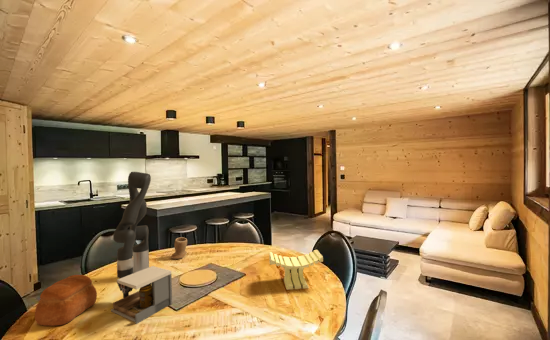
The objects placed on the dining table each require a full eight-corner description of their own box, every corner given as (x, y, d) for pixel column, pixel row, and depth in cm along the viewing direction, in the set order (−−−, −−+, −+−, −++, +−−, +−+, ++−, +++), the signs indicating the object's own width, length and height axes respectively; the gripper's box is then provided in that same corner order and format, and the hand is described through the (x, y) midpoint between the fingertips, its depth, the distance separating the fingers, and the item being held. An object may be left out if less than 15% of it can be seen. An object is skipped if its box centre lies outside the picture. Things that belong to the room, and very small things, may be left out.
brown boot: (185, 259, 200) (184, 240, 200) (169, 260, 200) (168, 240, 199) (190, 253, 215) (190, 235, 215) (176, 253, 215) (175, 235, 214)
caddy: (113, 309, 131) (113, 302, 131) (142, 295, 145) (142, 289, 145) (137, 320, 121) (137, 313, 121) (167, 304, 135) (166, 297, 135)
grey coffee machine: (109, 311, 129) (108, 276, 129) (145, 294, 146) (144, 263, 146) (137, 324, 119) (136, 286, 118) (172, 304, 135) (171, 270, 135)
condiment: (156, 304, 136) (155, 281, 135) (140, 312, 128) (140, 288, 128) (147, 300, 139) (147, 278, 139) (132, 308, 132) (131, 285, 132)
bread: (30, 327, 118) (28, 290, 118) (69, 302, 140) (68, 271, 139) (67, 327, 117) (65, 290, 117) (101, 302, 139) (100, 271, 138)
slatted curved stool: (316, 275, 167) (315, 248, 167) (323, 287, 151) (322, 256, 151) (269, 278, 164) (269, 250, 164) (272, 290, 148) (271, 259, 148)
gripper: (110, 267, 138) (111, 299, 138) (125, 271, 132) (126, 305, 132) (124, 262, 145) (125, 293, 145) (139, 266, 138) (140, 299, 138)
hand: (126, 299), depth 138 cm, fingers closed
